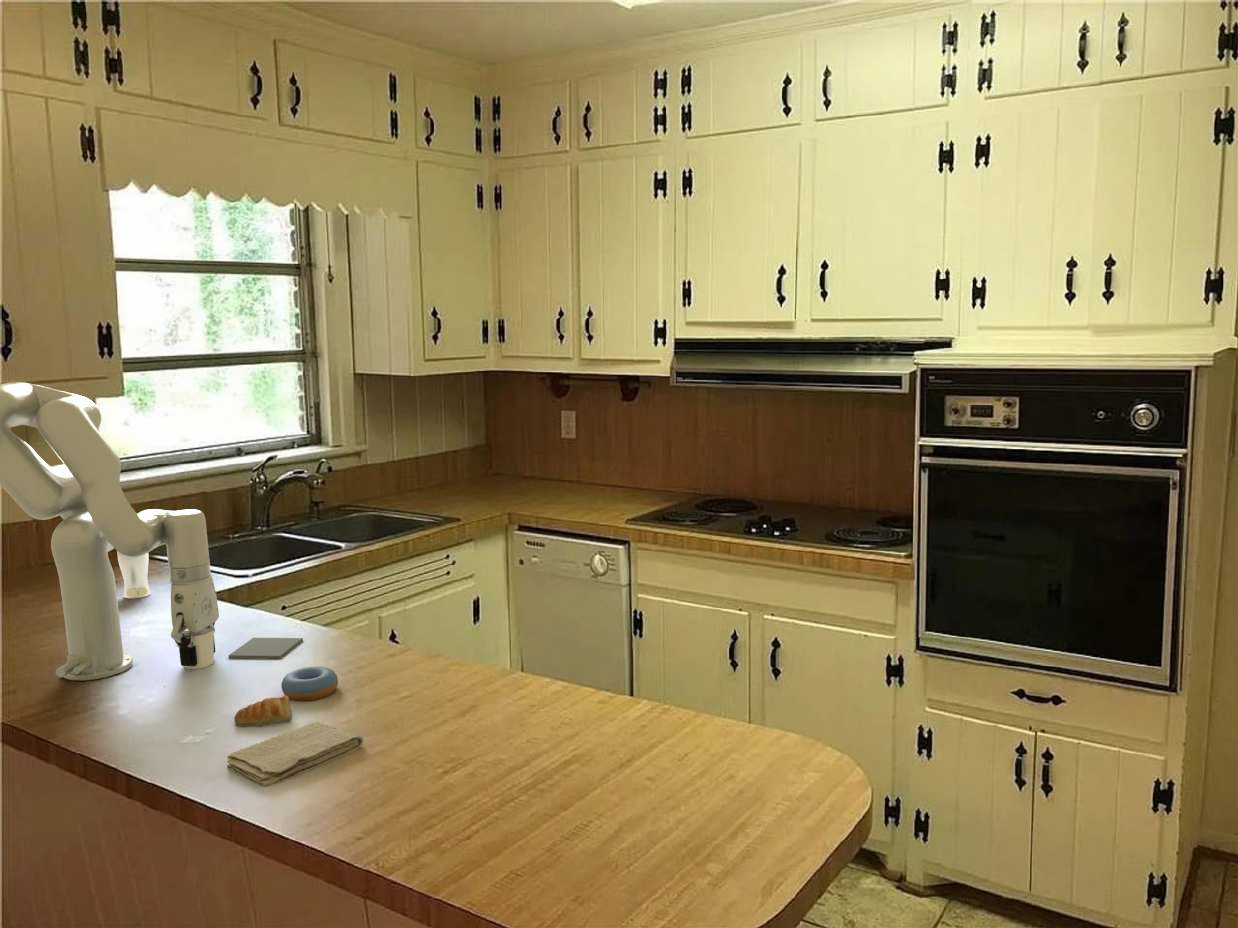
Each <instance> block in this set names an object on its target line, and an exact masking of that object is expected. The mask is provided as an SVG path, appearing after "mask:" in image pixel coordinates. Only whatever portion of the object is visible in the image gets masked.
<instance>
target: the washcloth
mask: <svg viewBox="0 0 1238 928" xmlns="http://www.w3.org/2000/svg"><path fill="white" fill-rule="evenodd" d="M363 743H364V738H363V737H362V736H360V735H358V734H354V733H352V732H350V731H349V732H348V731H346V730H345V731H344V730H340V729H337V728H336V727H334V726H331V725H328V724H326V723H324V722H319V721H315V722H311V723H308V724H305V725H303V726H301V727H299V728H296V729H292V730H288V731H286V732H283V733H281V734H279V735H276V736H274V737H273V736H272V737H270V738H269V739H265V740H263V741H261V742H259V743H255V744H253V745H250V746H247V747H244V748H242V749H241V748H240V749H239V750H236V751H234V752H232V753H230V754H229V755H228V756H227V761H226V762H227V768H228V769H229V768H231V770H232V771H233V772H234V773H235V774H237V775H238V776H241V777H243V778H246V779H248V780H249V781H252V782H253V783H255V784H257V785H259V786H263V787H267V786H270V785H273V784H278V783H281V782H284V781H286V780H288V779H291V778H292V779H293V778H294V777H296V776H299V775H301V774H303V773H305V772H308V771H309V770H312V769H314V768H317V767H320V766H322V765H324V764H326V763H329V762H331V761H333V760H335V759H337V758H340V757H342V756H344V755H347V754H350V753H352V752H353V751H356V750H358V749H359V748H361V746H362V745H363Z"/></svg>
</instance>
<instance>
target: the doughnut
mask: <svg viewBox="0 0 1238 928" xmlns="http://www.w3.org/2000/svg"><path fill="white" fill-rule="evenodd" d="M338 684H339V678H338V675H337V673H336V672H335V671H334V670H333V669H331V668H329V667H325V666H319V665H317V666H315V665H314V666H306V667H301V668H298V669H294V670H293V671H290V672H289V673H287V674H286V675H285V676H284V677H283V679H282V681H281V684H280V685H281V690H282V693H283V696H284V695H286V696H288V697H289V700H292V701H297V702H298V701H299V702H307V701H315V700H319V699H323V698H325V697H327V696H330V695H331V694H333V692H335V691H336V689H337V688H338Z"/></svg>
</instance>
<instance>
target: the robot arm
mask: <svg viewBox="0 0 1238 928" xmlns="http://www.w3.org/2000/svg"><path fill="white" fill-rule="evenodd" d="M101 423H102V414H101V411H100V409H99V407H98V406H97V404H96V403H94V402H93V401H92V400H91V399H89V398H88V397H85V396H84V395H83V396H82V395H79V394H76V393H72V392H67V391H62V390H58V389H55V388H51V387H46V386H43V385H38V384H34V383H29V382H23V381H10V382H6V383H0V487H1V488H2V489H3V490H4V491H5V492H6V493H7V494H8V495H9V496H10V497H11V498H12V499H13V500H14V503H16V504H17V505H18V506H19V507H20V508H21V509H22V511H24V512H25V514H27V515H28V516H29V517H31V518H33V519H36V520H39V521H41V520H42V521H43V520H44V521H45V520H51V519H54V518H56V517H58V516H59V517H60V518H61V519H63V520H62V521H61V522H60V523H59V524H58V525H57V526H56V527H55V529H54V531H52V535H51V538H50V539H51V540H50V549H51V553H52V556H53V557H52V558H53V559H54V564H55V566H56V569H57V574H58V581H59V586H60V593H61V594H60V595H61V600H62V610H63V618H64V626H65V634H66V635H65V636H66V642H67V643H66V645H67V650H68V655H66V662H65V664H63V665H62V666H59V667H58V668H56V669H55V675H56V676H57V677H58V678H64V679H66V680H70V681H91V680H99V679H103V678H108V677H112V676H116V675H118V674H120V673H123V672H126V671H127V670H128V669H130V668H131V667H132V666H133V663H134V661H133V656H131V655H128V654H125V653H124V651H123V650H124V649H123V641H122V631H121V621H120V615H119V614H120V611H119V602H118V594H117V593H118V592H117V587H116V586H117V585H116V579H115V574H114V570H113V566H112V564H111V561H110V559H109V552H110V551H112V550H114V549H115V550H116V552H117V551H119V552H120V553H122V554H123V555H126V556H129V557H139V556H142V555H144V554H146V553H148V554H149V552H151V551H153V550H154V549H156V548H158V547H160V546H163V545H166V555H167V563H168V566H167V567H168V574H169V583H170V585H171V586H170V615H171V622H172V623H171V624H172V631H171V633H170V637H171V638H172V639H173V640H174V642H175V644H176V646H177V647H178V651H179V660H180V661H179V662H180V666H182V667H184V666H196V665H197V654H196V646H193V644H194V635H195V633H198V632H200V631H201V630H203V629H205V628H206V627H208V626H211V627H213V628H214V633H215V632H216V629H215V624H216V621H217V620H218V619H219V617H220V614H219V612H220V611H219V605H218V598H217V591H216V587H215V583H214V580H213V576H212V572H211V563H210V554H209V553H210V552H209V542H208V534H207V533H208V529H207V520H206V516H205V514H204V512H203V511H201V510H198V509H194V508H193V509H181V510H180V509H179V510H164V509H157V508H152V509H149V508H148V509H144V510H141V511H139V512H136V511H135V510H134V508H133V507H132V505H131V504H130V502H129V501H128V500H127V498H126V496H125V494H124V491H123V490H122V485H121V480H120V479H121V469H122V464H121V463H122V462H121V459H120V457H119V456H118V455H117V453H116V452H115V450H114V449H113V448H112V447H111V445H109V443H108V442H107V441H106V439H105V437H104V436H103V435H102V434H101V433H100V431H99V428H100V426H101ZM19 426H27V427H31V428H32V427H33V428H36V429H37V431H38V432H39V434H40V435H41V436H42V438H43V440H45V442H46V444H48V446H49V447H50V448H51V450H52V451H53V452H54V454H56V456H57V457H58V459H60V461H61V462H62V464H55V465H54V464H53V465H51V466H50V465H49V464H48V463H46V462H45V460H44V459H42V457H41V456H39V454H38V453H37V452H36V451H35V450H34V448H33V447H32V446H31V445H29V444H28V443H27V442H26V441H24V440H23V439H21V438H20V437H19V436H17V435H16V434H14V432H13V431H12V430H11V428H14V427H19ZM186 628H187V629H188V630H189V631H184V629H186ZM184 634H189V638H188V639H187V638H186V637H184ZM215 643H216V642H215V640H214V654H215V653H216V644H215Z"/></svg>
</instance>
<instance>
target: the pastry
mask: <svg viewBox="0 0 1238 928" xmlns="http://www.w3.org/2000/svg"><path fill="white" fill-rule="evenodd" d="M233 720H234V723H235V724H237V725H238V726H240V727H264V726H275V725H279V724H280V725H281V724H285V723H289V722H291V720H292V706H291V704H290V699H289V697H288V696H286V695H284V694H283V696H282V697H270V698H269V697H267V698H264V699H263V700H261V701H257V702H254V703H253V704H249V705H247V706H246V707H243V708H241V709H239V710H237V712H236V713H235V715H234V718H233Z"/></svg>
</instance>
